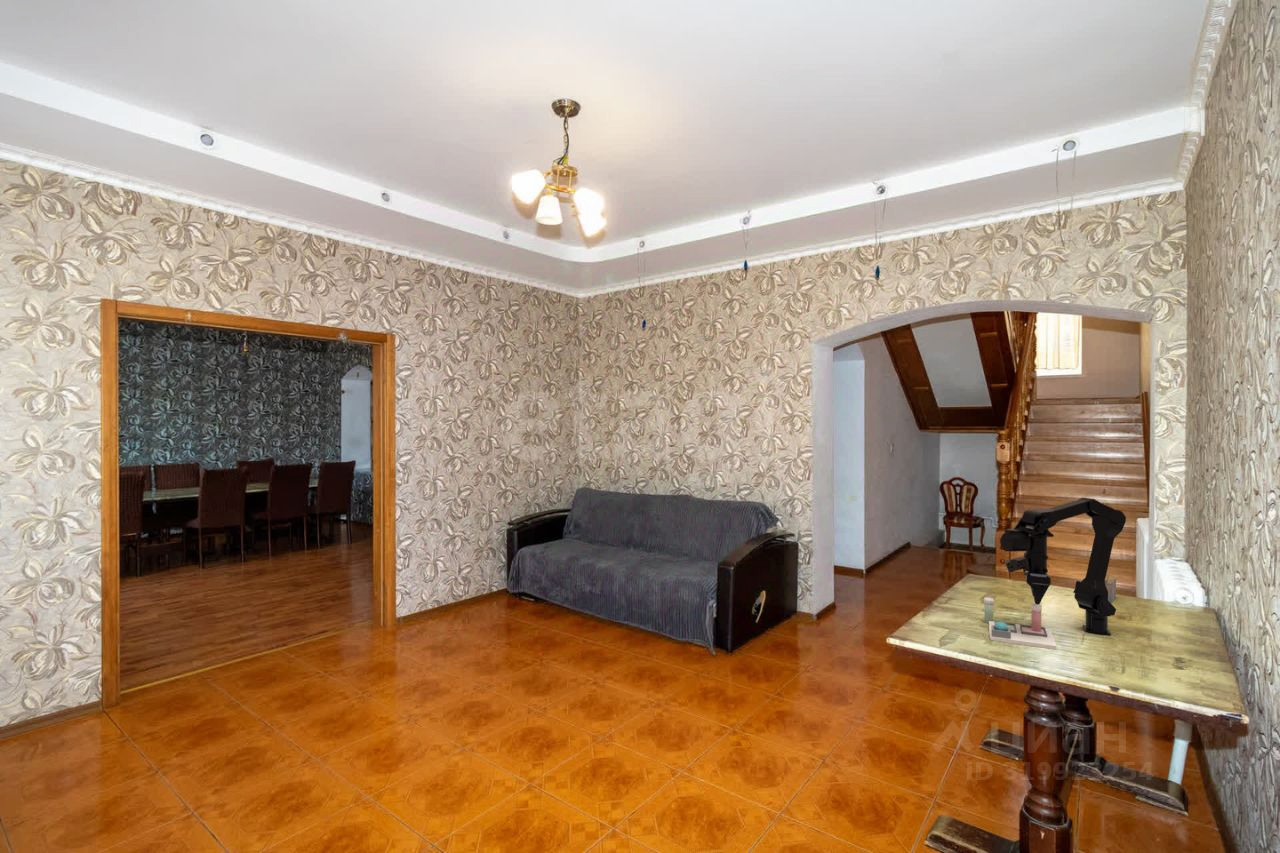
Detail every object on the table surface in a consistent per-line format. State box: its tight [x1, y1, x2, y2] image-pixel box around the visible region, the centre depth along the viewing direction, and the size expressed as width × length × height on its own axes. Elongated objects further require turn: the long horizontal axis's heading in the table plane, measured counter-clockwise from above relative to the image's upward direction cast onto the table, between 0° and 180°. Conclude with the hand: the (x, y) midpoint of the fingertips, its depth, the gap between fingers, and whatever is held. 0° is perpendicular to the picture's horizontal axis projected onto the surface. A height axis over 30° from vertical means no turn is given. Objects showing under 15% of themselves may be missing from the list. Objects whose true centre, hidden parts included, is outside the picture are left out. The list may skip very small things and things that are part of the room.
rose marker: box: [1030, 603, 1042, 632], centre depth 194 cm, size 3×3×8 cm
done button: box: [994, 621, 1007, 631], centre depth 190 cm, size 3×3×2 cm
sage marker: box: [983, 596, 995, 624], centre depth 206 cm, size 3×3×8 cm
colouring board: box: [988, 620, 1058, 650], centre depth 193 cm, size 17×17×3 cm
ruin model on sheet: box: [1105, 572, 1117, 604], centre depth 232 cm, size 11×3×10 cm, turn 134°
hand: (1035, 600), depth 194 cm, fingers open, 9 cm apart
